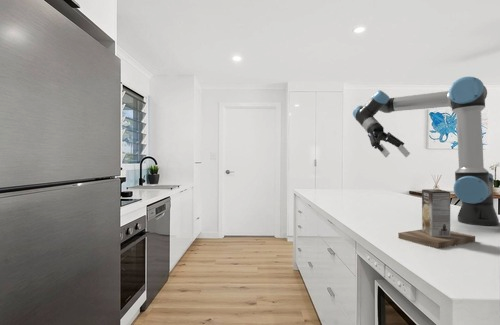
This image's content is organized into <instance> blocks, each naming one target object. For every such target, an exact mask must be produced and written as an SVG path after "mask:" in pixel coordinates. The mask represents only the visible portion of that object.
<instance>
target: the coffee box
mask: <svg viewBox="0 0 500 325" xmlns="http://www.w3.org/2000/svg"><path fill="white" fill-rule="evenodd" d="M421 205H422V206H421V208H422V209H421V212H422V213H421V221H422V222H421V227H422V228H421V229H422V231H423V232H425V233H427V234H428V235H430V236H432V237H450V231H451V192H450V191H448V190H443V189H431V188H430V189H429V188H428V189H421Z"/></svg>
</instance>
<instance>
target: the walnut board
mask: <svg viewBox="0 0 500 325" xmlns="http://www.w3.org/2000/svg"><path fill="white" fill-rule="evenodd" d="M397 238H398V239H399V240H403V241H406V242H407V241H408V242H412V243H415V244H418V245H419V244H420V245H422V246H426V247H429V246H430V248H433V247H434V248H433V249H438V250H439V249H444V248H450V247H455V245H456V246H460V245H464V244H465V245H466V244H470V243H475V242H476V236H475V235H472V234H467V233H461V232H457V231H452V230H450V237H432V236H430V235H428V234H427V233H425V232H423V231H422V228H421V229H416V230H409V231H402V232H398V236H397Z"/></svg>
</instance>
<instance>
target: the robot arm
mask: <svg viewBox="0 0 500 325" xmlns="http://www.w3.org/2000/svg"><path fill="white" fill-rule="evenodd" d="M487 90H488V89H487V87H486V86H485V85H484V83H483V81H482V80H481V79H479V78H477V77H474V76H463V77H460V78H458V79H456V80H455V81H454V82H453V83H452V84H451V85H450V87H449V90H447V91H438V92H430V93H422V94H421V93H420V94H414V95H405V96H396V97H390V96H389V95H388V94H387V93H385V92H384V91H383V90H379V89H378V90H377V91H376V92H375V93H374V94H373V95H372V96H371V97H370V98H369V99H368V101H367V102H366V103H365V104H364V105H358V106H357V107H355V108H354V109H353V112H352V117H353V118H354V119H355V120H356V121H357V122H358V123H359V124H360V126H361V127H362V128H363V129H364V130H365V132H366V133H367V137H368V139H369V141H370V145H371V147H372V148H373V147H374V149H376V150H377V149H378V150H379V152H380V153H381V154H382V155H383V157H385V158H388V157H389V155H390V153H391V152H390V151H389V150H388V149H387V147H386V146H384V145H383V144H382V143H381V141H383V142H385V143H389V144H391V145H393V146H394V147H396V148H397V149H398V151H399V152H400V153H401V154H402V155H403V156H404V157H405V158H407V157H408V156H410V155H411V152H410V151H409V150H408V149H407V148H406V147H405V146H404V145H405V142H404V141H402V140H400V139H399V138H397V137H396V136H394V135H393V134H392V133H391V132H390V131H388V132H385V130H384V129H385V128H384V126H383V125H382V124H381V123H380V122H379V121H378V120H377V119H376V118H375V117H374V116H375V115H376V114H377V113H378V112H381V113H384V114H385V113H386V114H390V113H392V112H402V111H411V110H412V111H414V110H424V109H438V108H448V107H449V108H451V111H452V112H453V113H454V114H455V115H456V130H457V131H456V134H457V151H458V153H457V154H458V156H457V158H458V169H456V170H455V171H454V178H455V179H454V180H455V182H454V185H453V193H454V195H455V196H456V198H457V199H459V200H460V201H461V206H460V209H459V211H458V213H457V214H458V215H457V221H458V222H460V223H463V224H469V225H476V226H477V225H478V226H499V222H500V220H499V217H498V215H497V212H496V210H495V208H494V181H495V179H494V175H493V174H492V173H490V172H489V170H487V169H486V168H485V166H484V163H485V162H484V149H483V148H484V147H483V146H484V144H483V128H482V126H483V123H482V111H483V110H485V109H486V98H487V97H488V96H487V95H488V91H487Z"/></svg>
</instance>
